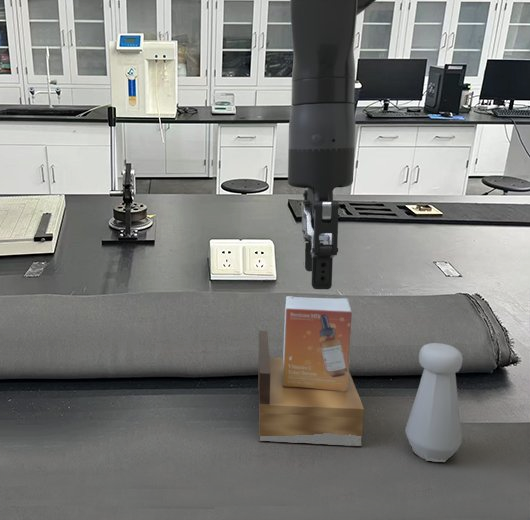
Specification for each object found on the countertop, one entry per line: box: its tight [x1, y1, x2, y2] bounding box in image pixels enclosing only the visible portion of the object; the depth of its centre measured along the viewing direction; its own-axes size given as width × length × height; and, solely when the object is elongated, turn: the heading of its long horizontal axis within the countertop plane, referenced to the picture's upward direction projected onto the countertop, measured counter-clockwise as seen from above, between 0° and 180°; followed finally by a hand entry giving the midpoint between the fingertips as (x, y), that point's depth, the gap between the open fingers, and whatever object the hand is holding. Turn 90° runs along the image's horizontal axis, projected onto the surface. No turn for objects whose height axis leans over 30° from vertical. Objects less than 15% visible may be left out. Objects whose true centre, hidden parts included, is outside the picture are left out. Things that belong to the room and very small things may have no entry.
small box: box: [282, 295, 353, 392], centre depth 67 cm, size 8×6×10 cm
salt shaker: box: [405, 342, 464, 460], centre depth 60 cm, size 6×6×13 cm
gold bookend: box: [257, 330, 365, 437], centre depth 69 cm, size 12×14×9 cm
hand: (317, 279), depth 66 cm, fingers open, 8 cm apart
